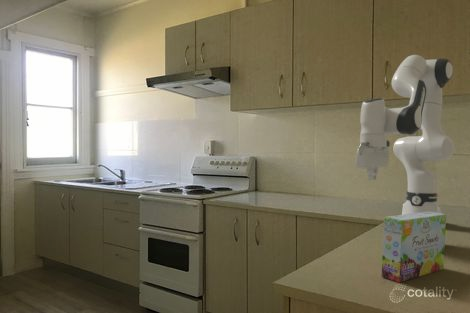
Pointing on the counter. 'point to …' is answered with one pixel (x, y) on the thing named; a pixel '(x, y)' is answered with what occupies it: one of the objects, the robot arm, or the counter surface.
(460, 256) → the counter surface
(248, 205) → the counter surface
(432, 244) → the snack box
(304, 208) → the counter surface
